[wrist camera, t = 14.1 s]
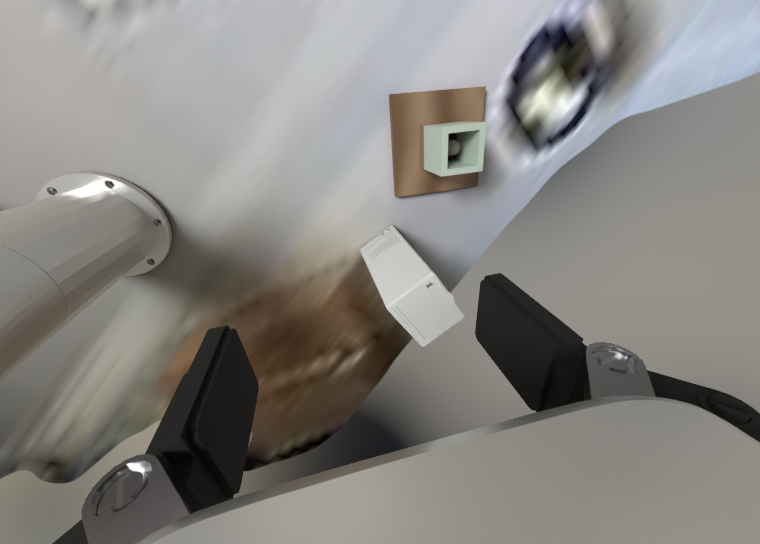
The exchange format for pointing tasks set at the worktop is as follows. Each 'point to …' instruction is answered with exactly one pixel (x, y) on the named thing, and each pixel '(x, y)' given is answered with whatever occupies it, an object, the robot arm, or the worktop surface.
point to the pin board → (406, 136)
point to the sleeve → (437, 147)
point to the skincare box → (410, 287)
